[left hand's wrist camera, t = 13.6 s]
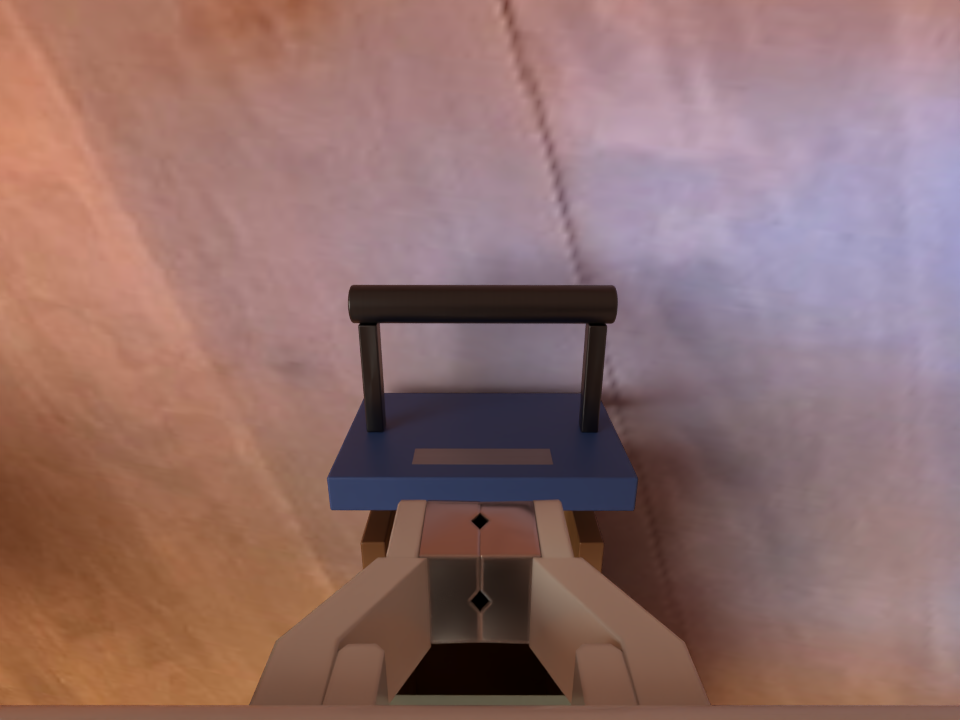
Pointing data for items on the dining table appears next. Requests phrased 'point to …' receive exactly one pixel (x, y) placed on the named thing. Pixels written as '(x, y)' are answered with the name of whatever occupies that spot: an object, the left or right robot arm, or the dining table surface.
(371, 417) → the drawer
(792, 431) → the dining table surface
